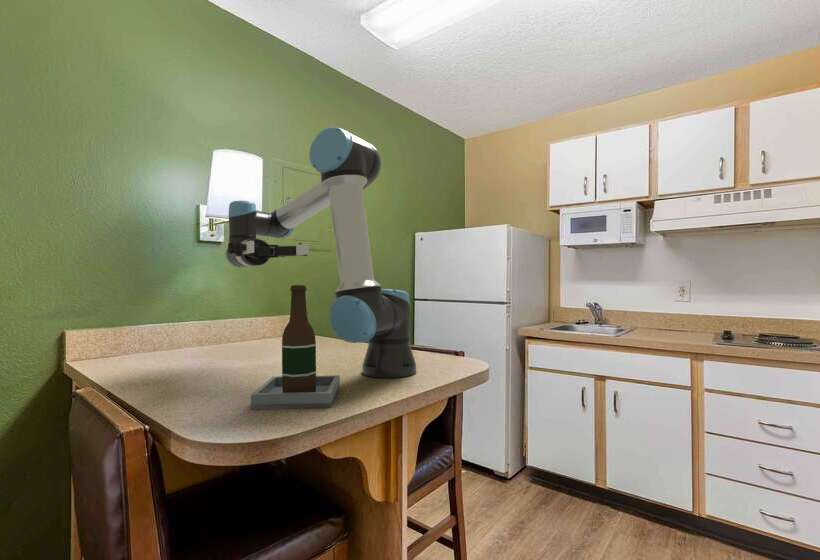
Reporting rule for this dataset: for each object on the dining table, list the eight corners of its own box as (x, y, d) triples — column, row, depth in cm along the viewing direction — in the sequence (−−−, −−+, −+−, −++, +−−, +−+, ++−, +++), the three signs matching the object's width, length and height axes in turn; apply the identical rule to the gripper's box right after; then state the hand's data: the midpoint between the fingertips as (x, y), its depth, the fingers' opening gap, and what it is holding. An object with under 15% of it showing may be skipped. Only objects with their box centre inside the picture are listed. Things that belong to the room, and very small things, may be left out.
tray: (339, 387, 103) (339, 375, 103) (330, 407, 87) (330, 393, 87) (272, 388, 102) (272, 376, 102) (251, 409, 86) (251, 394, 86)
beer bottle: (321, 388, 98) (320, 284, 98) (310, 398, 90) (309, 285, 90) (289, 388, 99) (288, 285, 99) (275, 397, 91) (274, 285, 91)
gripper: (295, 266, 126) (328, 264, 109) (204, 265, 111) (226, 262, 94) (295, 241, 126) (328, 234, 109) (204, 236, 111) (226, 228, 94)
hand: (281, 247), depth 102 cm, fingers open, 13 cm apart
